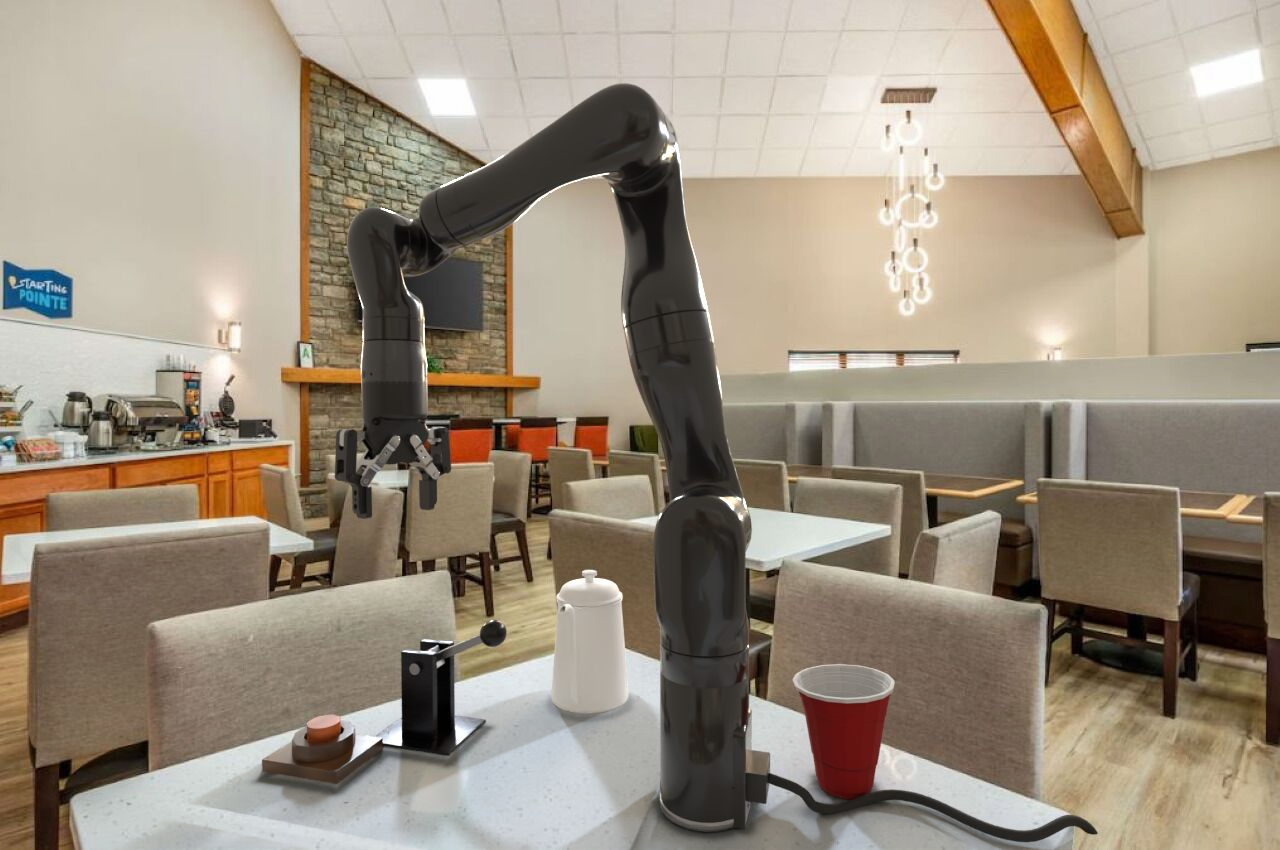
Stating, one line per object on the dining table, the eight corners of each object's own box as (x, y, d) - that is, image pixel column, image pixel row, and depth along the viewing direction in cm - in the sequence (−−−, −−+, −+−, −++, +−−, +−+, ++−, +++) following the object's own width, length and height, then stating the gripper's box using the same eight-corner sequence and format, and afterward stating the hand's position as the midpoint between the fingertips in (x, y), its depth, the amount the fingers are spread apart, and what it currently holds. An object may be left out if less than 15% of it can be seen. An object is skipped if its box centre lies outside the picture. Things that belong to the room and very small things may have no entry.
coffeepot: (519, 742, 84) (518, 592, 83) (577, 667, 108) (577, 551, 108) (604, 751, 82) (603, 597, 81) (644, 672, 106) (643, 554, 106)
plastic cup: (813, 750, 82) (814, 652, 82) (906, 778, 76) (906, 672, 75) (776, 790, 73) (776, 681, 73) (877, 826, 67) (878, 706, 67)
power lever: (515, 637, 83) (504, 612, 83) (503, 645, 80) (492, 620, 80) (431, 671, 86) (422, 648, 87) (416, 681, 83) (407, 656, 84)
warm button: (347, 731, 79) (347, 716, 79) (325, 745, 76) (325, 730, 76) (322, 727, 80) (322, 712, 80) (299, 741, 77) (299, 726, 77)
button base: (383, 755, 81) (383, 722, 81) (336, 792, 73) (336, 755, 73) (313, 744, 84) (313, 713, 83) (261, 778, 76) (261, 743, 76)
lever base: (485, 728, 88) (485, 638, 87) (448, 763, 79) (447, 663, 79) (412, 718, 91) (411, 631, 90) (368, 750, 82) (367, 654, 82)
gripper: (356, 376, 74) (358, 524, 74) (462, 380, 85) (464, 509, 85) (321, 379, 78) (324, 518, 78) (426, 383, 89) (428, 504, 90)
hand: (397, 513), depth 82 cm, fingers open, 8 cm apart
